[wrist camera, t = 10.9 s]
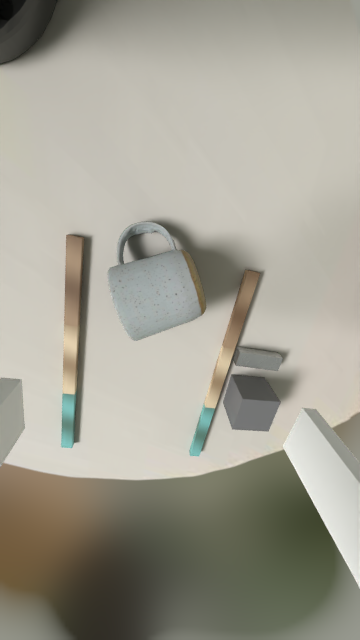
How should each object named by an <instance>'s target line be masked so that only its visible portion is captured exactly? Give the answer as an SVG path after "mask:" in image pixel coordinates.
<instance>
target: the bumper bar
mask: <svg viewBox="0 0 360 640" xmlns="http://www.w3.org/2000/svg"><path fill="white" fill-rule="evenodd" d="M282 360H283V358H282V357H281V355H280V354H279V353H278V352H271V351H264V350H257V349H250V348H243V347H236V350H235V353H234V356H233V361H234V363H235V365H236V366H243V367H251V368H259V369H266V370H274V371H278V369H279V367H280V364H281V362H282Z"/></svg>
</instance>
